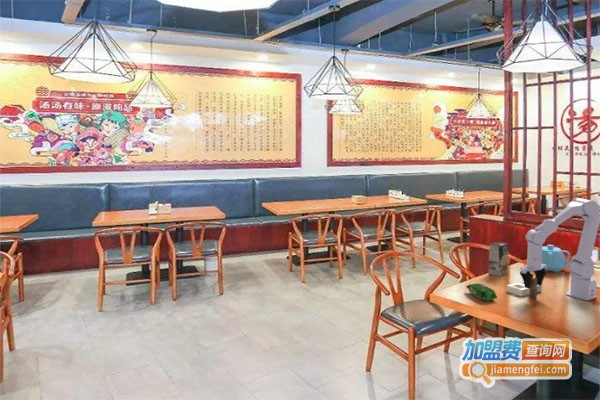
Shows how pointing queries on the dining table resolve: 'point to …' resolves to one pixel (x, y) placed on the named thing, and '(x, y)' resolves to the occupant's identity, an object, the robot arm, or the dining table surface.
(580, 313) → the dining table surface
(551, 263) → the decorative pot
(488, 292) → the snack package
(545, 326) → the dining table surface
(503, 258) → the coffee box
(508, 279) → the dining table surface
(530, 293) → the walnut dowel
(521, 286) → the hole block
